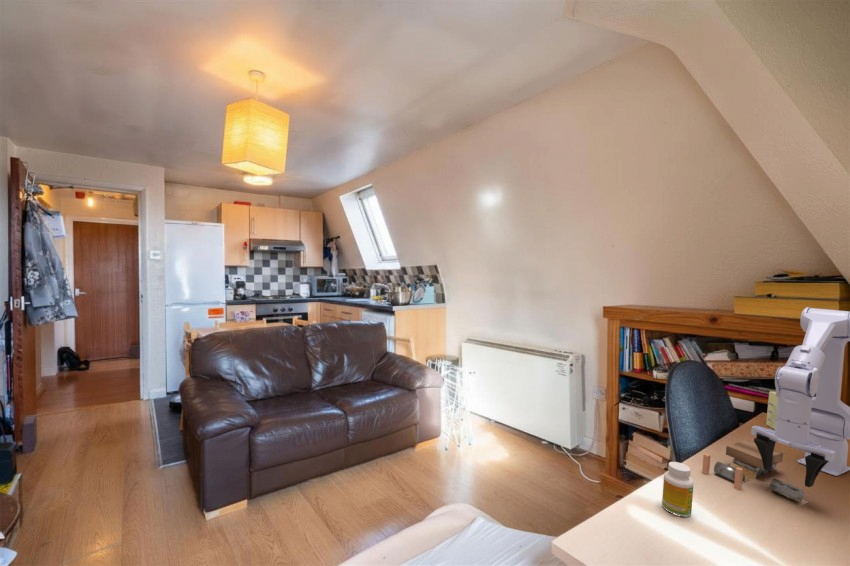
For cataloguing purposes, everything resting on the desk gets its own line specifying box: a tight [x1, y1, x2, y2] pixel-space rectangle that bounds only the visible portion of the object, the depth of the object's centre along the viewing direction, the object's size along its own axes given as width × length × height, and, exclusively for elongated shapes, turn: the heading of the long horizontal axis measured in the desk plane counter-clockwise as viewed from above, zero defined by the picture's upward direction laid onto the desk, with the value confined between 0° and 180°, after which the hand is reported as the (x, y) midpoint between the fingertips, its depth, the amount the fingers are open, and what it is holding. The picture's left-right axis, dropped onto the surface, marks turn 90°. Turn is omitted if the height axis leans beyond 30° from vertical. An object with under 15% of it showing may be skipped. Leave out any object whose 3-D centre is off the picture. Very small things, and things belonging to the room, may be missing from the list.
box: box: [765, 391, 778, 430], centre depth 130 cm, size 10×6×12 cm, turn 168°
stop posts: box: [701, 453, 743, 491], centre depth 98 cm, size 1×8×5 cm, turn 26°
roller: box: [769, 478, 805, 503], centre depth 92 cm, size 5×3×3 cm, turn 26°
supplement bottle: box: [661, 461, 694, 518], centre depth 85 cm, size 5×5×10 cm
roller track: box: [713, 458, 809, 507], centre depth 98 cm, size 19×16×3 cm
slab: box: [725, 439, 784, 469], centre depth 104 cm, size 10×8×2 cm
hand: (787, 477), depth 92 cm, fingers open, 7 cm apart
